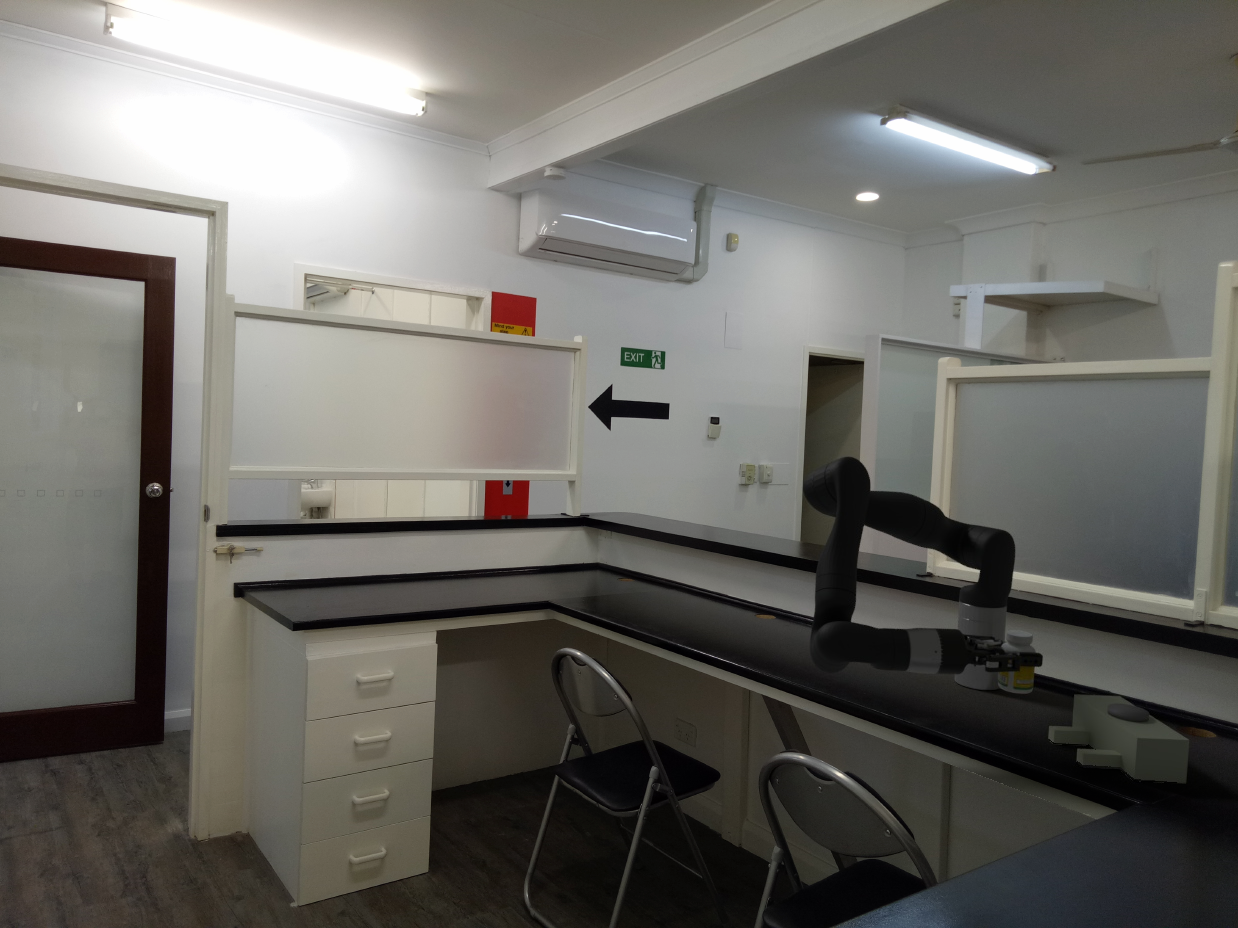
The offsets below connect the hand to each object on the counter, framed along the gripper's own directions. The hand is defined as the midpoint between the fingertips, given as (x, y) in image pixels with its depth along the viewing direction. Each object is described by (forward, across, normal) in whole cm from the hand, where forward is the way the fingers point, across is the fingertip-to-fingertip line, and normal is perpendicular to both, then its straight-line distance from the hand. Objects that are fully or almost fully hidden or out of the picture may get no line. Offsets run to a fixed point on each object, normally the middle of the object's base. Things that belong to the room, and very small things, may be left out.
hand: (1033, 654), depth 144 cm
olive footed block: (+13, 0, +17) cm, 21 cm away
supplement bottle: (-3, 0, +6) cm, 7 cm away
